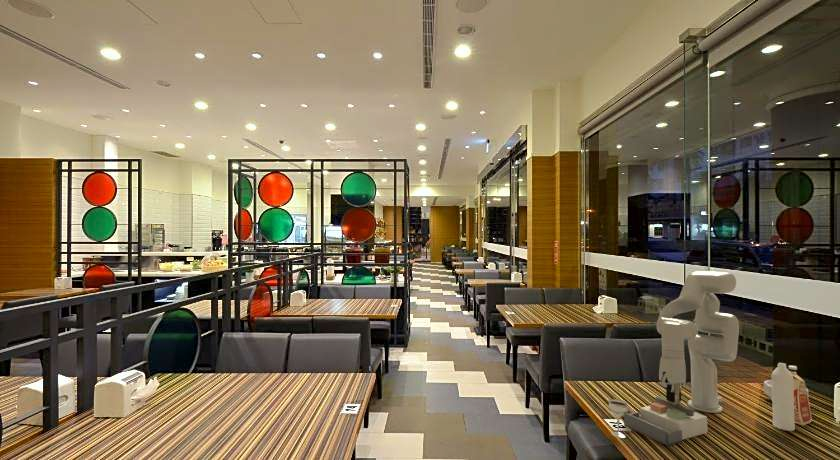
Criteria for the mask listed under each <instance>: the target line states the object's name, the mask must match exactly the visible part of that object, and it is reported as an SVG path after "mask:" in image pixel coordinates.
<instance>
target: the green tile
mask: <svg viewBox="0 0 840 460" xmlns="http://www.w3.org/2000/svg"><path fill="white" fill-rule="evenodd" d="M667 416H669V417H672V418H674V419H677V420H680V419H684V418H686V412H683V411H680V410H678V409H675V408H674V409H669V410H667Z"/></svg>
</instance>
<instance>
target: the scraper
mask: <svg viewBox="0 0 840 460" xmlns="http://www.w3.org/2000/svg"><path fill="white" fill-rule="evenodd" d="M669 386H670V387H671V385H669ZM674 392H675V403H673V402H670V401H667V400H666V397H662V396H659V395H658V396H655V397H654V398H655V399H654V400H655V401H654V403H655V402H659V403H662V404H664V405H667V406H668V409H674V408H675V409H678V410H680V411H683V412H686V416H689V417H691V416H694V412H695V409H693V408H691V407H690V406H688V405H684V404H681V403H680V402H681V401H679V383H678V384H674Z"/></svg>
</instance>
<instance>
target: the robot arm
mask: <svg viewBox="0 0 840 460" xmlns="http://www.w3.org/2000/svg"><path fill="white" fill-rule="evenodd" d="M736 286H737V278H736V276H735V275H734V274H733V273H731V272H725V271H711V270H710V271H707V270H706V271H703V270H701V271H700V270H699V271H693V272H691V273H689V274H688V275H687V276H686V279H685V281H684V284H683V286H682V288H681V291H680V294H679V296H678V297H677V298H676V299H673V300H672V301H670V302H669V303H667V304H666V305H665V306H663V308H662V309H661V310H660V313H659V315H658V318H657V321H656V330H657V333H659V334H660V335H661V357H660V360H659V369H658V371H659V372H658V379H659V382H660V386H662V387H664V390H665V394H666V396H665V399H666V400H667V401H670V402H673V403H675V392H674V384H678V383H679V401H680V402H682V390H683V385H684V384H685V383H686V381H687V368H686V360H685V340H687V347H688V352H689V357H690V382H691V383H690V384H691V387H690V389H691V391H690V392H691V393H690V395H691V396H690V397H691V399H689V400H687V407H690V408H692V409H694V410H696V411H700V412H704V413H710V414H718V413H721V412H723V407H722V406H721V405H719V402H722V401H723V400H724V399H723V397H722V396H718V369H717V365H716V364H715V362H714V361H713V360H717V361H722V362H733V361H735V360H736V358H737V355H738V345H739V344H738V343H739V333H740V322H739V320H738V318H737V316H736V315H734V314H732V313H724V312H720V306H721V301H720V300H719V299H718V297H717V295H715V294H720V295H723V294H727V293H728V294H729V293H731V292H733V291H734V290H735V289H736ZM693 311H695V317H694V321H693V320H692V321H691V320H688V319H681V318H680V319H679V318H674V316H677V315H680V314H684V313H689V312H693ZM699 332H702V333H707V334H712V335H720V336H723V337H719V336H712V335H706V334H699ZM669 385H671V387H670V386H669Z"/></svg>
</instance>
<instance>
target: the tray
mask: <svg viewBox="0 0 840 460" xmlns="http://www.w3.org/2000/svg"><path fill="white" fill-rule="evenodd" d="M624 425H625V427H626V428H628V429H631V430H633V431H635V432H637V433H639V434H641V435H643V436H646V437H648V438H650V439H652V440H654V441H656V442H658V443H660V444H662V445H664V446H667V447H668V446H672V445H676V444H679V443H682V442H683V440H682V430H678V431H674V432H670V433H668V431H666V430H664V429H662V428H659V427H657V426H655V425H653V424H650V423H648V422H646V421H644V420H641V418H640V412H639V411H637V412H631V413H627V414H626V415H625V416H623V426H624Z"/></svg>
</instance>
